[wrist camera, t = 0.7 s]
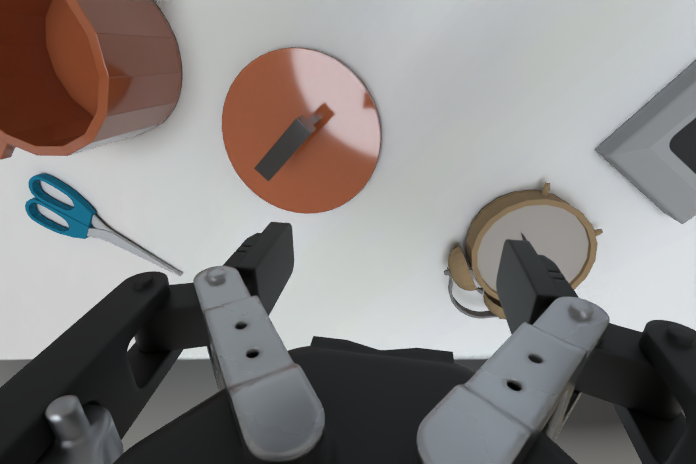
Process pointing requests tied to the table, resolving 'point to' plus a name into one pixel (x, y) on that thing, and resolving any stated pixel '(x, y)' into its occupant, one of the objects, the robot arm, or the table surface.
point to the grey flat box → (661, 148)
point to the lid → (301, 130)
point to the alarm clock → (522, 224)
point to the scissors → (79, 218)
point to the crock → (83, 73)
